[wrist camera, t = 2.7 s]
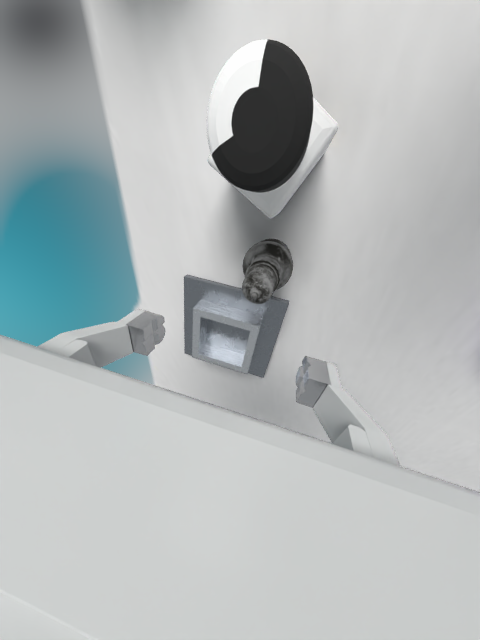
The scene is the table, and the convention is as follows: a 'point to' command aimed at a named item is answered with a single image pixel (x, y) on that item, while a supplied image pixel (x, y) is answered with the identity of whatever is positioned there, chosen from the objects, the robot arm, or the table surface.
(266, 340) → the plate
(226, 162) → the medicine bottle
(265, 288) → the chess piece
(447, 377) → the table surface
